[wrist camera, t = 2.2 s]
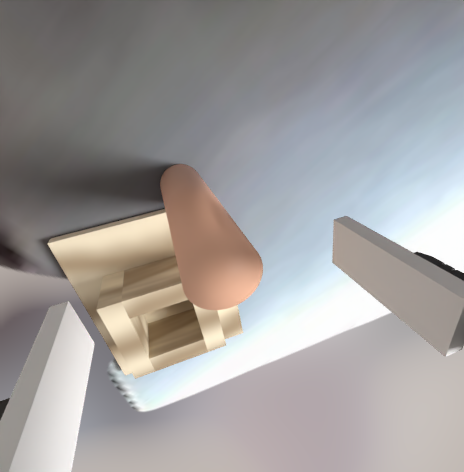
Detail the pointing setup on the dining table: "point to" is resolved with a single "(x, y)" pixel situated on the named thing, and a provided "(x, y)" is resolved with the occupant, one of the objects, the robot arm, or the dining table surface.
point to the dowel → (207, 243)
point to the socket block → (140, 294)
